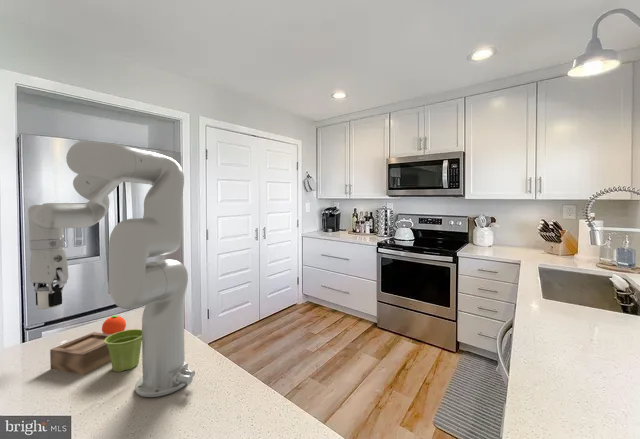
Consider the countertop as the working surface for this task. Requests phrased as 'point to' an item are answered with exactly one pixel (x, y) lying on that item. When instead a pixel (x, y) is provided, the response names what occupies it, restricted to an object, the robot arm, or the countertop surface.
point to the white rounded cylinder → (43, 297)
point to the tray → (81, 354)
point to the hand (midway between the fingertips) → (49, 304)
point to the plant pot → (124, 349)
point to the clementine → (113, 325)
